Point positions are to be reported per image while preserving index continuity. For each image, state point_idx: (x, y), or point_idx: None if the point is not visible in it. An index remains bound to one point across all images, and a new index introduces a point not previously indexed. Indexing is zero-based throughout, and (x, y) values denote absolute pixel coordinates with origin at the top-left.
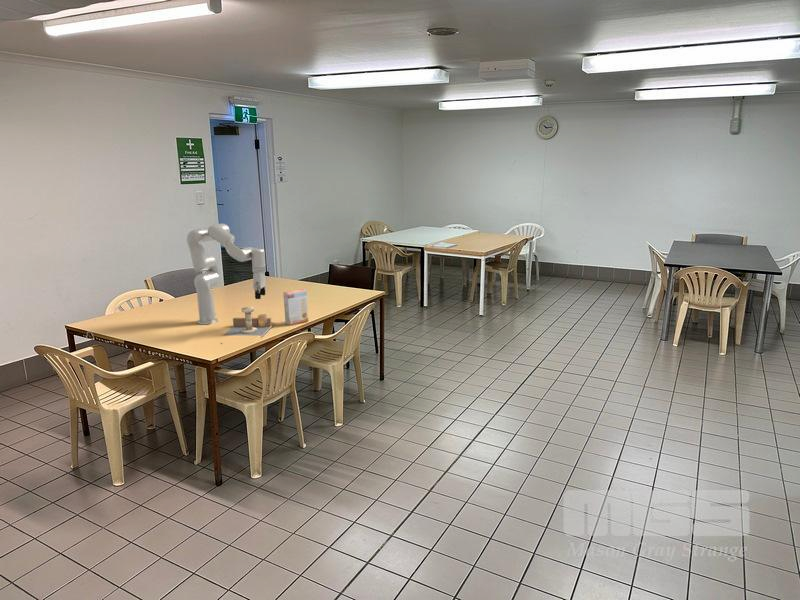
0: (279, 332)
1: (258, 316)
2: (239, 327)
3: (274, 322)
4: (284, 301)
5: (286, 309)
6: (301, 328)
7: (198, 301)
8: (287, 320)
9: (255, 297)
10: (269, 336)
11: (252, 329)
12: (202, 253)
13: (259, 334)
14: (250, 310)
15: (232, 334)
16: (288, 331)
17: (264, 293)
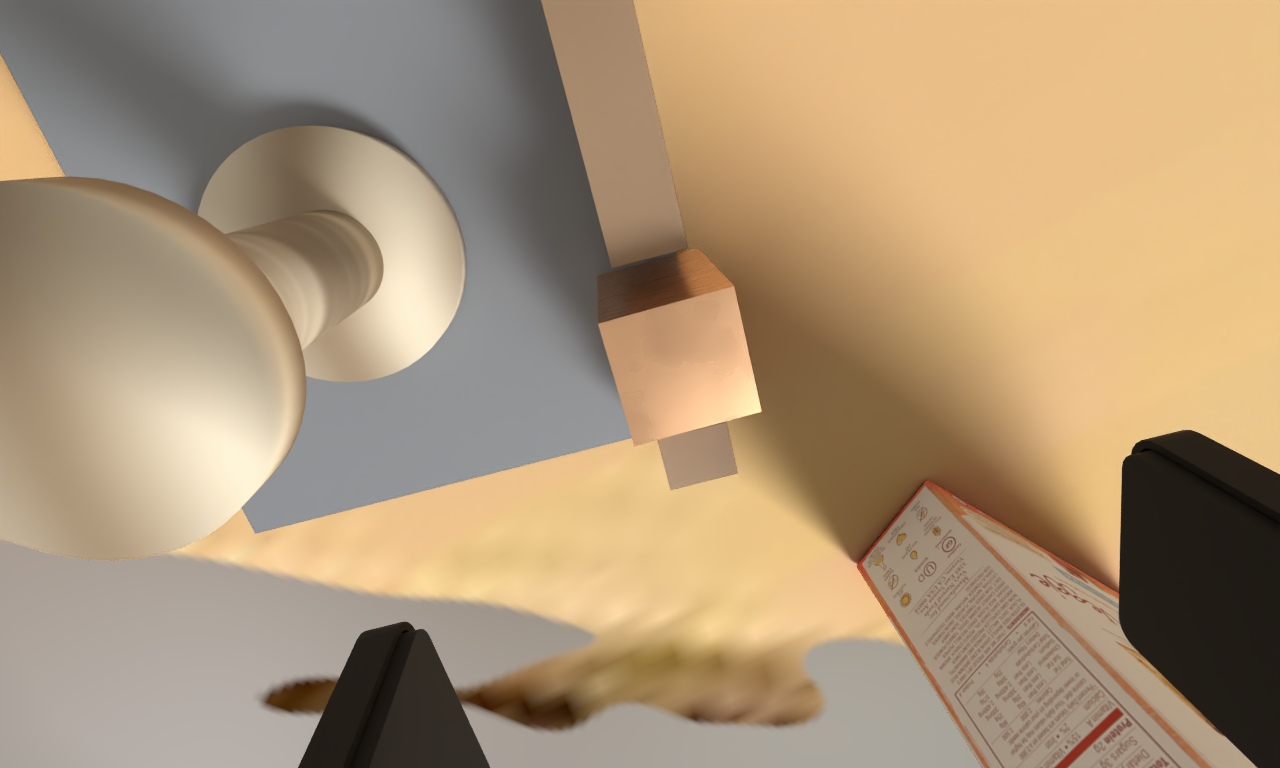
0: (558, 585)
1: (600, 327)
2: None
3: (983, 297)
4: (1165, 761)
5: (1009, 676)
6: (775, 717)
7: None
8: (911, 560)
9: (343, 689)
10: (366, 561)
11: (347, 318)
12: None
13: (276, 481)
14: (29, 524)
15: (55, 75)
16: (628, 653)
17: (1183, 678)
